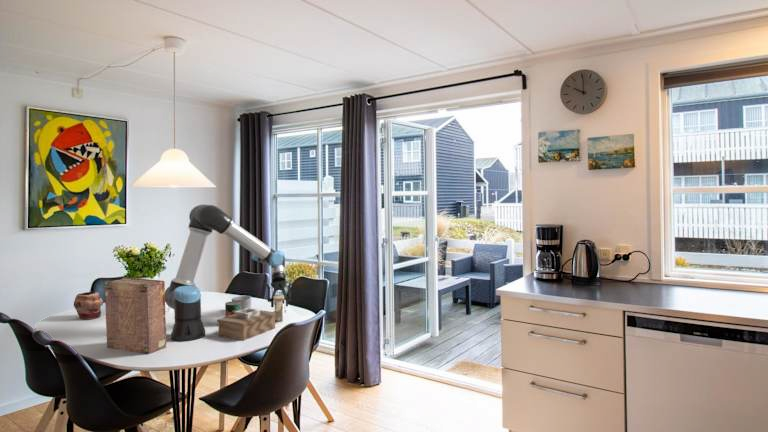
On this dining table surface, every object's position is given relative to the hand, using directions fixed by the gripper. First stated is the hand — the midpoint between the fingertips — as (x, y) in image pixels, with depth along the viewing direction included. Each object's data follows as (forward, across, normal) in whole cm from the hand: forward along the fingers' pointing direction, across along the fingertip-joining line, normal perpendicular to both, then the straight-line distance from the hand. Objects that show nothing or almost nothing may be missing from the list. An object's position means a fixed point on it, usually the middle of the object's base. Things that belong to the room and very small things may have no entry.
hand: (279, 311), depth 244 cm
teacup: (-19, +21, -28) cm, 40 cm away
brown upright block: (+21, +63, +12) cm, 67 cm away
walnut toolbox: (+13, +16, +4) cm, 21 cm away
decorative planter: (-23, +103, -32) cm, 111 cm away
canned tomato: (0, +24, -8) cm, 25 cm away
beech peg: (+2, +1, -7) cm, 7 cm away
